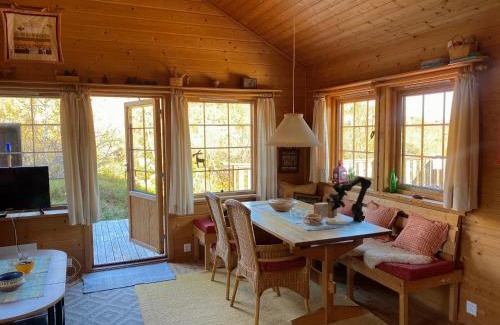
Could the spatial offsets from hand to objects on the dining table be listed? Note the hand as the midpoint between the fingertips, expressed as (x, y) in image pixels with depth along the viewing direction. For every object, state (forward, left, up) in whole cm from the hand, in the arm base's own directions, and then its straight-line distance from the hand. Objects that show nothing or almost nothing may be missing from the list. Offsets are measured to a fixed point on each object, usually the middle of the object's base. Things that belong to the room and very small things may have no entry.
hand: (330, 210), depth 319 cm
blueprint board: (-9, -8, -13) cm, 18 cm away
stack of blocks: (-4, -38, -14) cm, 41 cm away
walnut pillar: (-1, -1, -7) cm, 7 cm away
